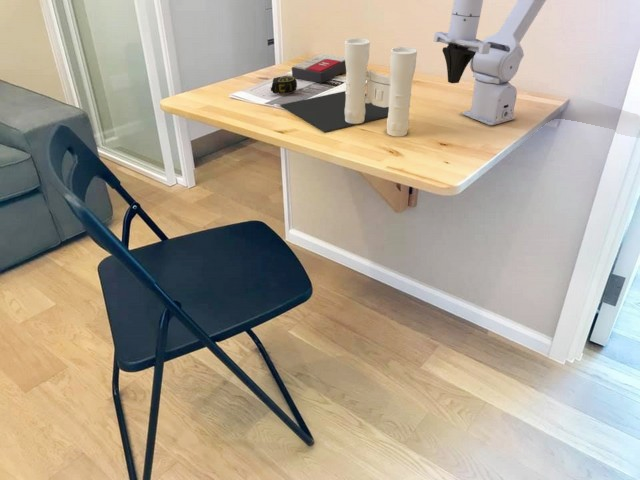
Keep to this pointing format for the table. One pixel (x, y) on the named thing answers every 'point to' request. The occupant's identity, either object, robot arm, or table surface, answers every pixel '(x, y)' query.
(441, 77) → the table surface
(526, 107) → the table surface
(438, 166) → the table surface
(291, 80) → the tape measure
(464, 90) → the table surface
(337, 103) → the mat
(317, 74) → the grey and red box
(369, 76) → the binoculars
